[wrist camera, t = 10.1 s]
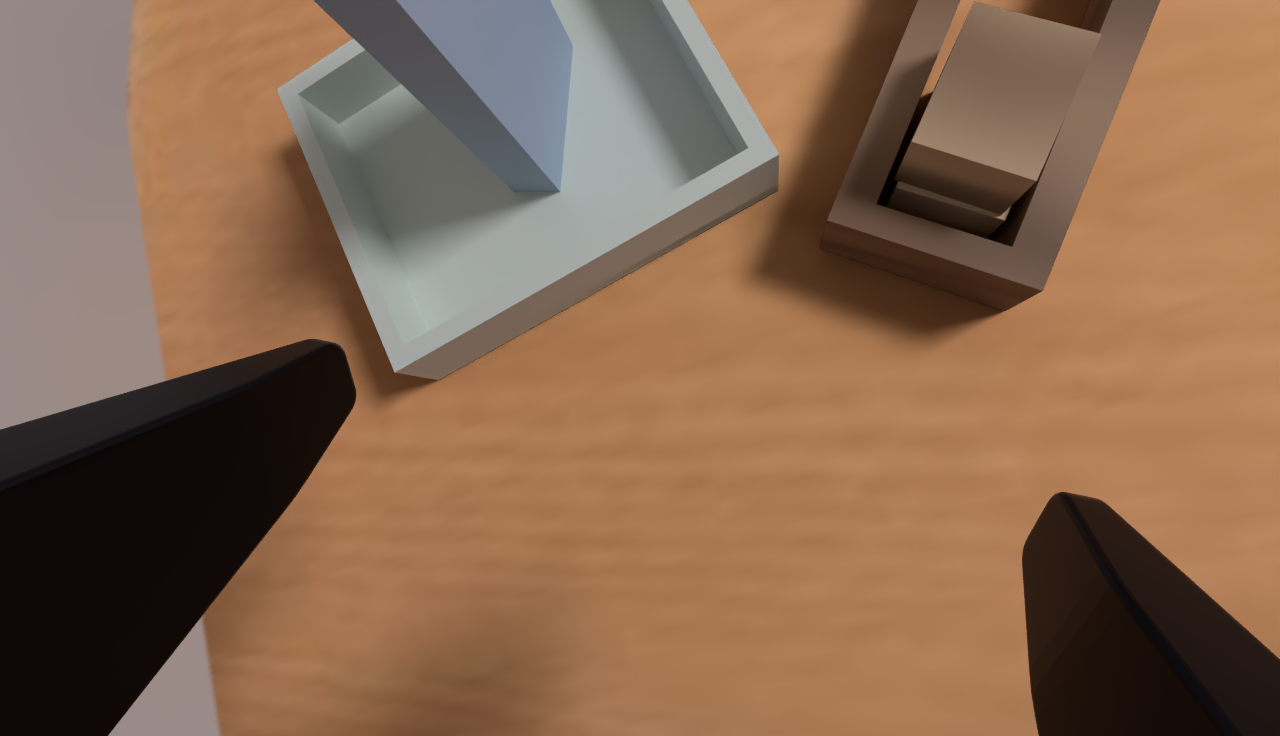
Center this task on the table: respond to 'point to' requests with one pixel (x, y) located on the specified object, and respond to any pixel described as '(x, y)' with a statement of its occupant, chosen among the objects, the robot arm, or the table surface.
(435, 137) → the tray
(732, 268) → the table surface
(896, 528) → the table surface
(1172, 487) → the table surface
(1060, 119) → the offcut
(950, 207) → the offcut
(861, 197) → the rack
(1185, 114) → the table surface
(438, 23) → the pale blue tall block
